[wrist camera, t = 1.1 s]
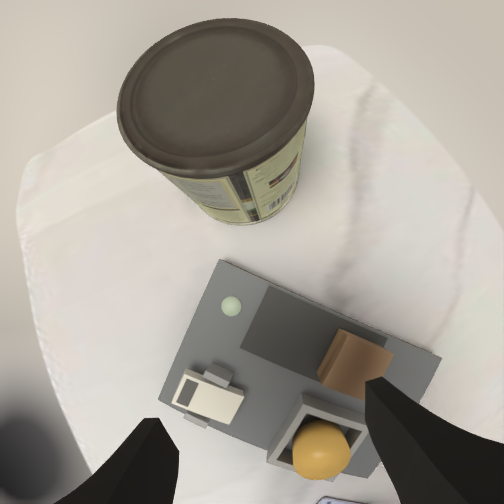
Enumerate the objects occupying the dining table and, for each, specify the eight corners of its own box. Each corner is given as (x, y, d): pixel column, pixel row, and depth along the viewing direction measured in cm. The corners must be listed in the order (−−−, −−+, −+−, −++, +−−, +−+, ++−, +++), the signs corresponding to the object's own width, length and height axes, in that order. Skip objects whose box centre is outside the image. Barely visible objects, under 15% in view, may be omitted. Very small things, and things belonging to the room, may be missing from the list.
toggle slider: (380, 345, 22) (394, 354, 19) (358, 387, 22) (368, 402, 19) (338, 327, 23) (347, 335, 19) (316, 371, 22) (322, 385, 19)
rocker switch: (243, 390, 23) (244, 397, 22) (228, 417, 23) (229, 425, 21) (186, 368, 22) (184, 374, 21) (173, 396, 22) (171, 403, 21)
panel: (432, 353, 24) (455, 364, 19) (363, 468, 23) (373, 492, 19) (223, 260, 26) (212, 257, 22) (165, 392, 26) (147, 409, 21)
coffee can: (208, 114, 28) (163, 15, 14) (309, 136, 27) (330, 32, 13) (172, 210, 27) (86, 155, 13) (281, 240, 26) (284, 199, 12)
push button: (353, 428, 21) (361, 445, 18) (327, 465, 21) (331, 484, 18) (307, 413, 21) (311, 430, 18) (282, 452, 21) (283, 471, 18)
